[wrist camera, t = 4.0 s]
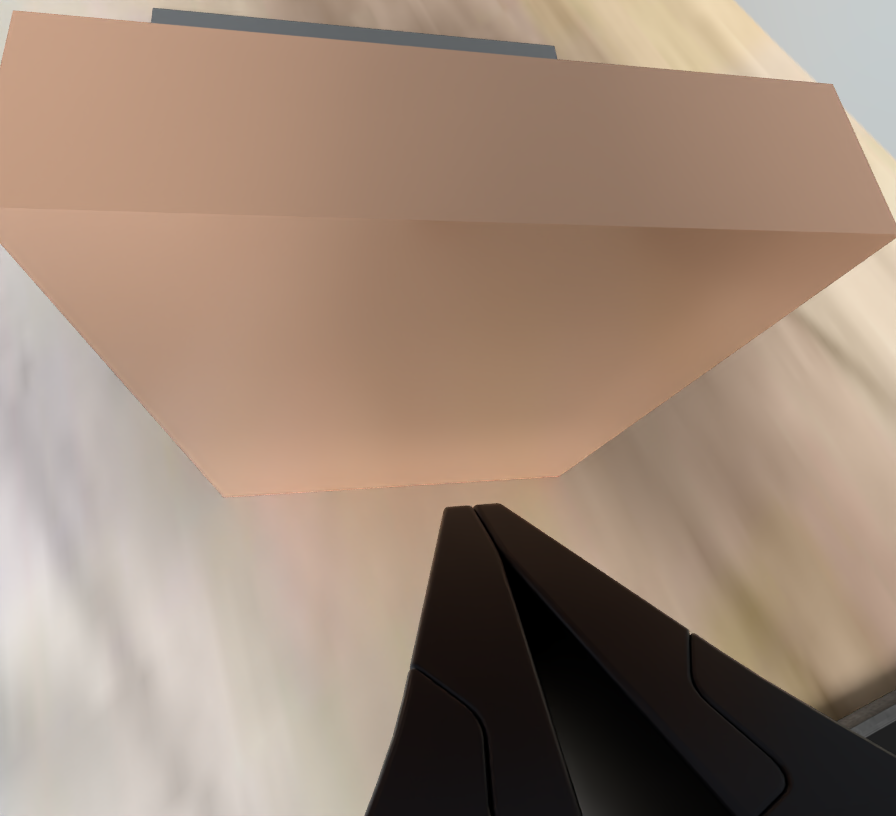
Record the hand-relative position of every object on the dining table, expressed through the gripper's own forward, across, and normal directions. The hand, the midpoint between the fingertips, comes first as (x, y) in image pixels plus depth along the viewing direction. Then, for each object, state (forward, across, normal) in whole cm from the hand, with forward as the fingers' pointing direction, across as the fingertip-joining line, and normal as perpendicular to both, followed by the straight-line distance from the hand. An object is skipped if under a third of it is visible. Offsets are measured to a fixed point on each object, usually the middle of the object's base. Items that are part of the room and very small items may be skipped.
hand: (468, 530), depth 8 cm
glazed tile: (+9, 0, +3) cm, 9 cm away
